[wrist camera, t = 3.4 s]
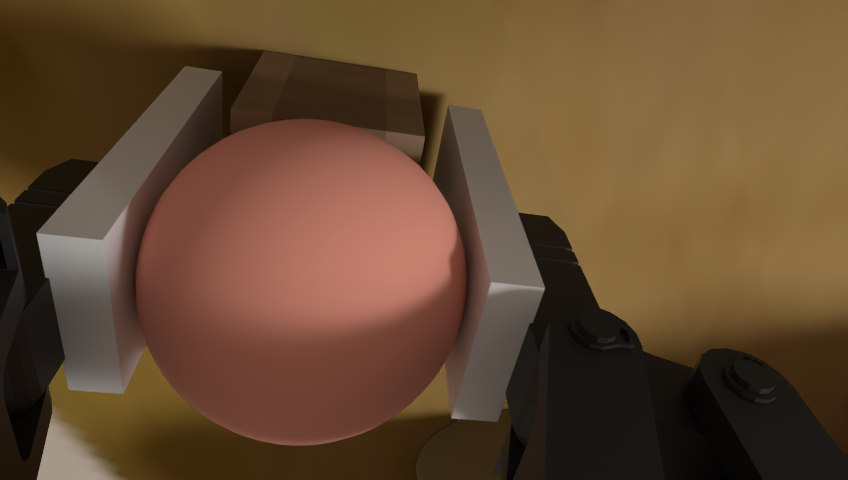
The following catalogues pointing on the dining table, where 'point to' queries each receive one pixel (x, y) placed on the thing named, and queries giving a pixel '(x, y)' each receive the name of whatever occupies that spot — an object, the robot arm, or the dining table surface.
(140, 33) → the dining table surface
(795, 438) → the robot arm
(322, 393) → the ball
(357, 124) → the hollow square tube
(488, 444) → the cork
